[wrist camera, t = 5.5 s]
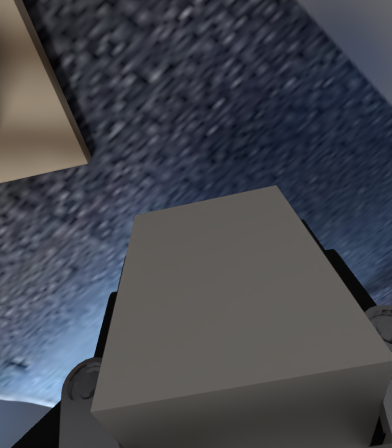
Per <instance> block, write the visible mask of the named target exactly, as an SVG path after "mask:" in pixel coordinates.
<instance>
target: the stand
mask: <svg viewBox="0 0 392 448" xmlns="http://www.w3.org/2000/svg"><path fill="white" fill-rule="evenodd" d="M91 158H92V157H91V155H90V153H89V151H88V148H87V146H86V144H85V142H84V139H83V137H82V135H81V132H80V130H79V128H78V126H77V123H76V121H75V119H74V117H73V114H72V112H71V110H70V108H69V105H68V103H67V101H66V99H65V96H64V94H63V92H62V89H61V87H60V85H59V83H58V80H57V78H56V76H55V74H54V71H53V69H52V67H51V65H50V62H49V60H48V58H47V56H46V53H45V51H44V49H43V46H42V44H41V42H40V40H39V37H38V35H37V33H36V31H35V28H34V26H33V24H32V22H31V19H30V17H29V15H28V13H27V10H26V8H25V6H24V3H23V1H22V0H0V183H2V182H7V181H11V180H16V179H20V178H25V177H29V176H34V175H38V174H42V173H47V172H51V171H56V170H60V169H65V168H69V167H74V166H78V165H83V164H87V163H88V162H89V161H90V159H91Z"/></svg>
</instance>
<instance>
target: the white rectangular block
mask: <svg viewBox="0 0 392 448" xmlns="http://www.w3.org/2000/svg"><path fill="white" fill-rule="evenodd" d="M391 376H392V352H391V351H390V349H389V348H388V347H387V345H386V344H385V342H384V341H383V339H382V338H381V336H380V335H379V333H378V332H377V331H376V329H375V328H374V326H373V325H372V323H371V322H370V320H369V319H368V317H367V316H366V315H365V313H364V312H363V310H362V309H361V307H360V306H359V304H358V303H357V301H356V300H355V299H354V297H353V296H352V294H351V293H350V291H349V290H348V288H347V287H346V286H345V284H344V283H343V281H342V280H341V278H340V277H339V275H338V274H337V272H336V271H335V270H334V268H333V267H332V265H331V264H330V262H329V261H328V259H327V258H326V256H325V255H324V254H323V252H322V251H321V249H320V248H319V246H318V245H317V243H316V242H315V240H314V239H313V238H312V236H311V235H310V233H309V232H308V230H307V229H306V227H305V226H304V224H303V223H302V222H301V220H300V219H299V217H298V216H297V214H296V213H295V211H294V210H293V208H292V207H291V206H290V204H289V203H288V201H287V200H286V198H285V197H284V195H283V194H282V193H281V191H280V190H279V188H278V187H277V185H275V186H270V187H265V188H261V189H256V190H251V191H247V192H242V193H237V194H233V195H228V196H223V197H218V198H214V199H209V200H204V201H200V202H195V203H190V204H186V205H181V206H176V207H172V208H167V209H162V210H158V211H153V212H148V213H144V214H139V215H135V219H134V224H133V228H132V232H131V237H130V241H129V245H128V250H127V254H126V259H125V263H124V267H123V272H122V276H121V280H120V285H119V289H118V293H117V298H116V302H115V306H114V311H113V315H112V320H111V324H110V328H109V333H108V337H107V341H106V346H105V350H104V354H103V359H102V363H101V367H100V372H99V376H98V381H97V385H96V389H95V394H94V398H93V402H92V407H91V411H90V412H91V413H92V415H93V416H94V417H95V418H96V419H97V420H98V421H99V422H100V424H101V425H102V426H103V427H104V428H105V429H106V430H107V432H108V433H109V434H110V435H111V436H112V437H113V438H114V439H115V441H116V442H119V443H120V444H121V445H122V446H123V447H124V448H365V447H368V446H369V445H370V443H371V440H372V437H373V433H374V430H375V427H376V424H377V421H378V418H379V412H378V411H379V408H380V405H381V402H382V399H385V395H386V392H387V389H388V386H389V383H390V380H391Z"/></svg>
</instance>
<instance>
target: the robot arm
mask: <svg viewBox="0 0 392 448" xmlns="http://www.w3.org/2000/svg"><path fill="white" fill-rule="evenodd" d="M301 222H302V223H303V224H304V226H305V227H306V229H307V230H308V232H309V233H310V235H311V236H312V238H313V239H314V240H315V242H316V243H317V245H318V246H319V248H320V249H321V251H322V252H323V254H324V255H325V256H326V258H327V259H328V261H329V262H330V264H331V265H332V267H333V268H334V270H335V271H336V272H337V274H338V275H339V277H340V278H341V280H342V281H343V283H344V284H345V286H346V287H347V288H348V290H349V291H350V293H351V294H352V296H353V297H354V299H355V300H356V301H357V303H358V304H359V306H360V307H361V309H362V310H363V312H364V313H365V315H366V316H367V317H368V319H369V320H370V322H371V323H372V325H373V326H374V328H375V329H376V331H377V332H378V333H379V335H380V336H381V338H382V339H383V341H384V342H385V344H386V345H387V347H388V348H389V349H390V351H391V352H392V306H388V305H379V306H377V305H376V304H375V302H374V301H373V300H372V298H371V297H370V296H369V294H368V293H367V292H366V290H365V289H364V288H363V286H362V285H361V284H360V282H359V281H358V280H357V278H356V277H355V276H354V274H353V273H352V272H351V270H350V269H349V268H348V266H347V265H346V264H345V262H344V261H343V260H342V258H341V257H340V256H339V254H338V253H337V252H336V251H335V250H333V249H330V250H325V249H324V248H323V246H322V245H321V244H320V242H319V241H318V239H317V238H316V236H315V235H314V234H313V232H312V231H311V229H310V228H309V227H308V225H307V224H306V222H305V221H304V220H303V219H301ZM125 259H126V256H125ZM124 263H125V260H124ZM123 267H124V264H123ZM122 272H123V268H122ZM121 276H122V273H121ZM120 280H121V277H120ZM119 285H120V281H119ZM119 285H118V289H119ZM117 293H118V290H117V292H112V293H111V294H110V296H109V300H108V304H107V307H106V311H105V315H104V319H103V323H102V327H101V331H100V335H99V338H98V342H97V346H96V350H95V354H94V357H93V358H90V359H86V360H84V361H83V362H81V363H79V364H78V365H77V366H76V367H75V368H73V369H72V371H71V372H70V373H69V374H68V376H67V377H66V379H65V381H64V384H63V387H62V392H61V401H60V402H58V403H57V404H56V405H55V406H54V407H53V408H52V409H51V410H50V411H49V412H48V413H47V414H46V415H45V416H44V417H43V418H42V419H41V420H40V421H39V422H38V423H36V424H35V425H34V426H33V427H32V428H31V429H30V430H29V431H28V432H27V433H26V434H25V435H24V436H23V437H22V438H21V439H20V440H19V441H18V442H17V443H16V444H14V445H13V446H12V447H11V448H124V447H123V446H122V445H121V444H120V443H119V442H116V441H115V439H114V438H113V437H112V436H111V435H110V434H109V433H108V432H107V430H106V429H105V428H104V427H103V426H102V425H101V424H100V422H99V421H98V420H97V419H96V418H95V417H94V416H93V415H92V413H91V412H90V411H91V407H92V402H93V398H94V394H95V389H96V385H97V381H98V376H99V372H100V367H101V363H102V359H103V354H104V350H105V346H106V341H107V337H108V333H109V328H110V324H111V320H112V315H113V311H114V306H115V302H116V298H117ZM378 412H379V418H378V421H377V424H376V427H375V430H374V433H373V437H372V440H371V443H370V445H369V446H368V447H365V448H392V376H391V380H390V383H389V386H388V389H387V392H386V395H385V399H382V402H381V405H380V408H379V411H378Z"/></svg>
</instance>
